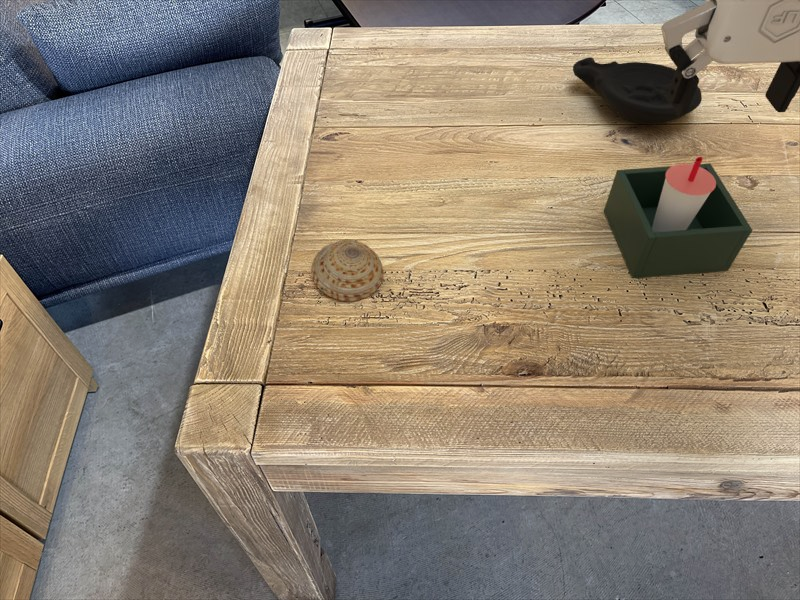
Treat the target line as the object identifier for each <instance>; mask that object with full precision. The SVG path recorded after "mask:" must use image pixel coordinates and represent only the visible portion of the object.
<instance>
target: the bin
mask: <svg viewBox="0 0 800 600" xmlns="http://www.w3.org/2000/svg"><path fill="white" fill-rule="evenodd" d="M672 166H673V165H669V166H667V165H666V166H655V167H639V168H627V169H617V170H616V172H615V174H614V178H613V181H612V185H611V188H610V190H609V193H608V196H607V199H606V203H605V205H604V209H603V213H604V215H605V218H606V220H607V223H608V225H609V228H610V230H611V232H612V235H613V236H614V239H615V242H616V243H617V246H618V248H619V251H620V254H621V256H622V258H623V260H624V262H625V265H626V267H627V270H628V272H629V275H630V276H631V278H632V279H640V278H651V277H664V276H676V275H677V276H679V275H690V274H704V273H717V272H727V271H729V270H730V268H731V266H732V265H733V264H734V263H735V260H736V258H737V257H738V255H739V254H740V252H741V250H742V249H743V247H744V245H745V243H746V242H747V240H748V238H749V237H750V235H751V234H752V232H753V229H752V227H751V225H750V224H749V222H748V220H747V218H746V217H745V215H744V214H743V213H742V210H741V209H740V208H739V206H738V205H737V203H736V201H735V200H734V198H733V197H732V195H731V193H730V192H729V190H728V189H727V187H726V186H725V184H724V182H723V181H722V179H721V178H720V176H719V175H718V173H717V171H716V170H715V168H714V167H713V165H712V164H711V162H710V163H701V164H700V167H701V168H703V169H705V170H707V171H708V172H710V173H711V174H712V175H713V177H714V178H715V180H716V187H715V189H714V190H713V191H712V192H711V193H710V194H709V196H708V197H707V199H706V200H705V202H704V204H703V205H702V207H701V208H700V210H699V211H698V213H697V214H696V216H695V217H694V219H693V220H692V222H691V223H690V225H689V226H688V228H687V230H679V231H666V232H653V230H652V226H653V222H654V218H655V215H656V211H657V207H658V204H659V200H660V196H661V193H662V189H663V186H664V182H665V179H666V172H667V170H668V169H669V168H670V167H672Z"/></svg>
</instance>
